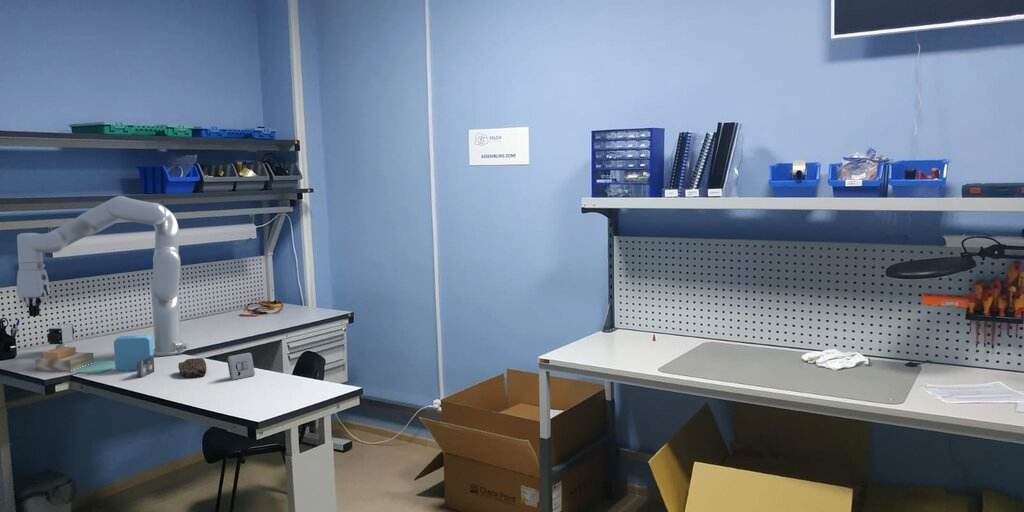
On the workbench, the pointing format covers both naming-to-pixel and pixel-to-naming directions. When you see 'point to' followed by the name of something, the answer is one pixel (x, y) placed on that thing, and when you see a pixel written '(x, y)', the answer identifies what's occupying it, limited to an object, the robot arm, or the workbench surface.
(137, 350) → the data package
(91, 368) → the mat
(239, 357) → the electrical switch
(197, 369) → the brown rock
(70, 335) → the pneumatic valve
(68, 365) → the deck
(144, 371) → the mini dv tape
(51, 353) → the orange sponge
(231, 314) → the workbench surface
